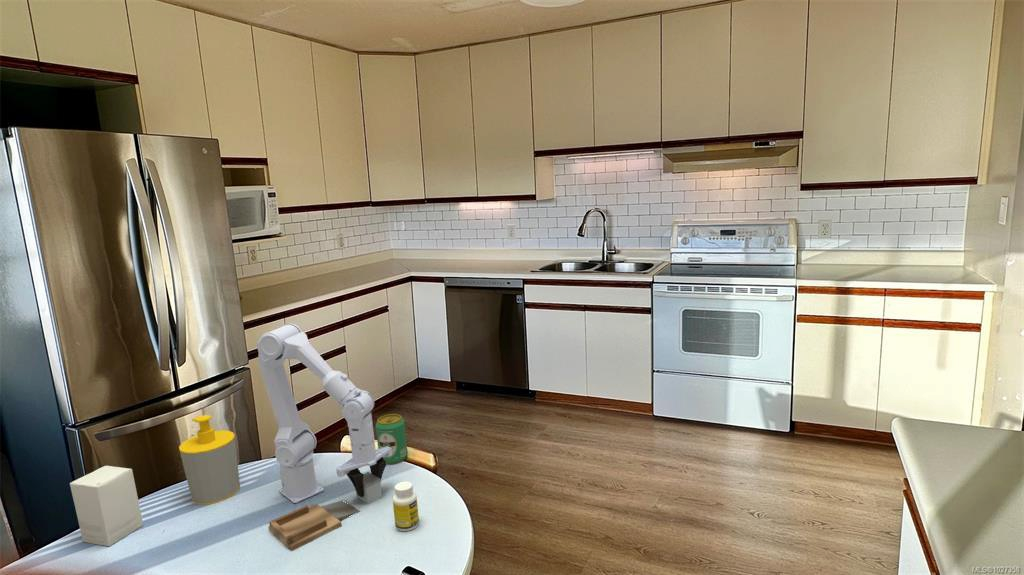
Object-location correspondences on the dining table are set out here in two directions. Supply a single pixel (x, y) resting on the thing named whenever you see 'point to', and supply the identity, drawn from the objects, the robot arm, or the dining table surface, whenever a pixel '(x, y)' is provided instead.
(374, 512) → the dining table surface
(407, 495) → the supplement bottle
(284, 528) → the dock
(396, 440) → the beverage can
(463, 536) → the dining table surface
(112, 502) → the supplement box
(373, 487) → the grey lidded box
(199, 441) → the soap bottle
